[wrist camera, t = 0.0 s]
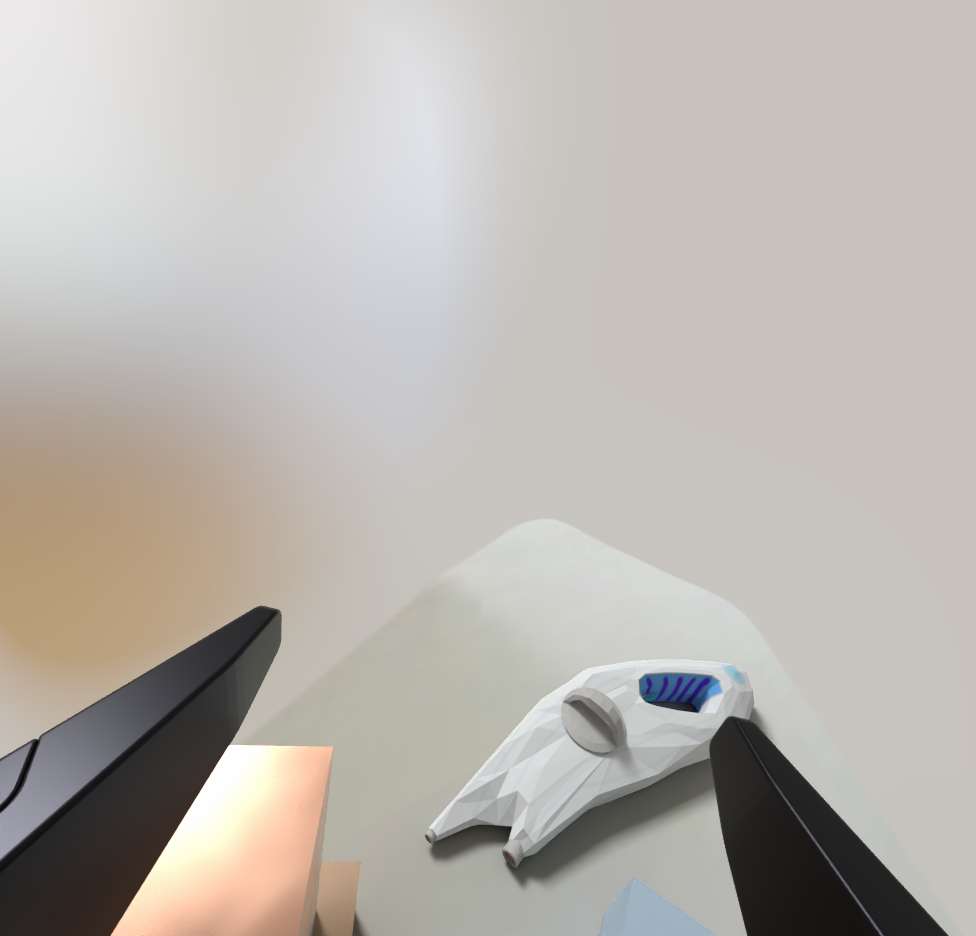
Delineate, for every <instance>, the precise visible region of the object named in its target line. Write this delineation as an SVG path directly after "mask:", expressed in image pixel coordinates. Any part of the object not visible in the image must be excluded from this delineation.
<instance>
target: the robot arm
mask: <svg viewBox="0 0 976 936" xmlns="http://www.w3.org/2000/svg"><path fill="white" fill-rule="evenodd" d="M281 620H282V615H281V612H280V610H278V609H274V608H269V607H266V606H258V607H256V608H254V609H252V610H251V611H249V612H247V613H246V614H244V615H242V616H241V617H239V618H237V619H235V620H234V621H232V622H230V623H229V624H227V625H225V626H224V627H222V628H220V629H219V630H217V631H215V632H214V633H212V634H210V635H208V636H207V637H205V638H203V639H202V640H200V641H198V642H197V643H195V644H193V645H192V646H190V647H188V648H187V649H185V650H183V651H182V652H180V653H178V654H176V655H175V656H173V657H171V658H170V659H168V660H166V661H165V662H163V663H161V664H160V665H158V666H156V667H155V668H153V669H151V670H149V671H148V672H146V673H144V674H143V675H141V676H139V677H138V678H136V679H134V680H133V681H131V682H129V683H128V684H126V685H124V686H122V687H121V688H119V689H117V690H116V691H114V692H112V693H111V694H109V695H107V696H106V697H104V698H102V699H101V700H99V701H97V702H96V703H94V704H92V705H91V706H89V707H87V708H85V709H84V710H82V711H81V712H79V713H77V714H75V715H74V716H72V717H70V718H69V719H67V720H65V721H64V722H62V723H60V724H58V725H57V726H55V727H54V728H52V729H50V730H48V731H47V732H45V733H43V734H42V735H41V736H40V737H39V739H33V740H31V741H30V742H28V743H26V744H25V745H23V746H21V747H19V748H18V749H16V750H14V751H13V752H11V753H9V754H8V755H6V756H4V757H3V758H1V759H0V936H111V934H112V933H113V931H114V930H115V928H116V926H117V925H118V923H119V922H120V920H121V918H122V917H123V915H124V914H125V912H126V910H127V909H128V907H129V906H130V904H131V902H132V901H133V899H134V897H135V896H136V894H137V893H138V891H139V889H140V888H141V886H142V885H143V883H144V881H145V880H146V878H147V877H148V875H149V873H150V872H151V870H152V869H153V867H154V865H155V864H156V862H157V861H158V859H159V857H160V856H161V854H162V853H163V851H164V849H165V848H166V846H167V845H168V843H169V841H170V840H171V838H172V837H173V835H174V833H175V832H176V830H177V828H178V827H179V825H180V824H181V822H182V820H183V819H184V817H185V816H186V814H187V812H188V811H189V809H190V808H191V806H192V804H193V803H194V801H195V800H196V798H197V796H198V795H199V793H200V792H201V790H202V788H203V787H204V785H205V784H206V782H207V780H208V779H209V777H210V776H211V774H212V772H213V771H214V769H215V768H216V766H217V764H218V763H219V761H220V759H221V758H222V756H223V755H224V753H225V751H226V750H227V748H228V747H229V745H230V743H231V742H232V740H233V738H234V737H235V735H236V733H237V732H238V730H239V728H240V726H241V724H242V722H243V720H244V718H245V716H246V714H247V712H248V710H249V708H250V706H251V704H252V702H253V700H254V698H255V696H256V694H257V692H258V690H259V688H260V686H261V684H262V682H263V680H264V678H265V676H266V674H267V672H268V670H269V668H270V666H271V664H272V662H273V660H274V657H275V656H276V654H277V652H278V649H279V647H280V643H281ZM709 754H710V761H711V767H712V773H713V779H714V786H715V792H716V798H717V804H718V811H719V817H720V823H721V829H722V834H723V839H724V844H725V848H726V853H727V857H728V861H729V865H730V869H731V873H732V877H733V881H734V885H735V889H736V893H737V897H738V901H739V905H740V909H741V913H742V917H743V921H744V925H745V929H746V933H747V936H948V935H947V933H946V932H945V931H944V930H943V929H942V928H941V927H940V926H939V925H938V924H937V923H936V921H935V920H934V919H933V918H932V917H931V916H930V915H929V914H928V913H927V912H926V910H925V909H924V908H923V907H922V906H921V905H920V904H919V903H918V902H917V901H916V900H915V898H914V897H913V896H912V895H911V894H910V893H909V892H908V891H907V890H906V889H905V888H904V886H903V885H902V884H901V883H900V882H899V881H898V880H897V879H896V878H895V877H894V875H893V874H892V873H891V872H890V871H889V870H888V869H887V868H886V867H885V866H884V865H883V863H882V862H881V861H880V860H879V859H878V858H877V857H876V856H875V855H874V854H873V852H872V851H871V850H870V849H869V848H868V847H867V846H866V845H865V844H864V843H863V842H862V840H861V839H860V838H859V837H858V836H857V835H856V834H855V833H854V832H853V831H852V830H851V828H850V827H849V826H848V825H847V824H846V823H845V822H844V821H843V820H842V819H841V817H840V816H839V815H838V814H837V813H836V812H835V811H834V810H833V809H832V808H831V807H830V805H829V804H828V803H827V802H826V801H825V800H824V799H823V798H822V797H821V796H820V794H819V793H818V792H817V791H816V790H815V789H814V788H813V787H812V786H811V785H810V784H809V782H808V781H807V780H806V779H805V778H804V777H803V776H802V775H801V774H800V773H799V772H798V770H797V769H796V768H795V767H794V766H793V765H792V764H791V763H790V762H789V761H788V759H787V758H786V757H785V756H784V755H783V754H782V753H781V752H780V751H779V750H778V749H777V747H776V746H775V745H774V744H773V743H772V742H771V741H770V740H769V739H768V738H767V736H766V735H765V734H764V733H763V732H762V731H761V730H760V729H759V728H758V727H757V726H756V725H755V724H754V723H753V722H752V721H750V720H748V719H744V718H740V717H736V716H729V717H727V718H726V719H725V720H724V722H723V723H722V724H721V726H720V727H719V729H718V730H717V731H716V733H715V734H714V736H713V737H712V739H711V741H710V745H709Z"/></svg>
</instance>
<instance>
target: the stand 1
mask: <svg viewBox="0 0 976 936" xmlns="http://www.w3.org/2000/svg"><path fill="white" fill-rule="evenodd" d="M359 870H360V862H335V863H321V870H320V880H319V889H318V899H317V909H316V915H315V921H314V927H313V933H312V936H352V933H353V924H354V915H355V906H356V897H357V888H358V879H359Z"/></svg>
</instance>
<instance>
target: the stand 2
mask: <svg viewBox="0 0 976 936" xmlns="http://www.w3.org/2000/svg"><path fill="white" fill-rule="evenodd" d="M600 936H716V935H715V934H714V933H712V932H711V931H709V930H708V929H707V928H705V927H704V926H702V925H701V924H700V923H698V922H697V921H695V920H694V919H693V918H691V917H690V916H688V915H687V914H686V913H684V912H683V911H681V910H680V909H679V908H677V907H676V906H674V905H673V904H672V903H670V902H669V901H667V900H666V899H665V898H663V897H662V896H660V895H659V894H658V893H656V892H655V891H653V890H652V889H651V888H649V887H648V886H646V885H645V884H644V883H642V882H641V881H639V880H638V879H637V878H635V877H634V876H633V878H632V879H631V880H630V882H629V883H628V884H627V886H626V887H625V888H624V890H623V891H622V892H621V894H620V895H619V896H618V898H617V899H616V900H615V901H614V903H613V904H612V905H611V907H610V908H609V909H608V911H607V912H606V913H605V915H604V918H603V923H602V927H601V932H600Z"/></svg>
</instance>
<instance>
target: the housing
mask: <svg viewBox="0 0 976 936" xmlns="http://www.w3.org/2000/svg"><path fill="white" fill-rule="evenodd" d="M332 754H333V747H306V746H237V745H229V747H228V748H227V750H226V751H225V753H224V755H223V756H222V758H221V759H220V761H219V763H218V764H217V766H216V768H215V769H214V771H213V772H212V774H211V776H210V777H209V779H208V780H207V782H206V784H205V785H204V787H203V788H202V790H201V792H200V793H199V795H198V796H197V798H196V800H195V801H194V803H193V804H192V806H191V808H190V809H189V811H188V812H187V814H186V816H185V817H184V819H183V820H182V822H181V824H180V825H179V827H178V828H177V830H176V832H175V833H174V835H173V837H172V838H171V840H170V841H169V843H168V845H167V846H166V848H165V849H164V851H163V853H162V854H161V856H160V857H159V859H158V861H157V862H156V864H155V865H154V867H153V869H152V870H151V872H150V873H149V875H148V877H147V878H146V880H145V881H144V883H143V885H142V886H141V888H140V889H139V891H138V893H137V894H136V896H135V897H134V899H133V901H132V902H131V904H130V906H129V907H128V909H127V910H126V912H125V914H124V915H123V917H122V918H121V920H120V922H119V923H118V925H117V926H116V928H115V930H114V931H113V933H112V934H111V936H312V933H313V927H314V921H315V915H316V909H317V899H318V889H319V880H320V870H321V860H322V851H323V840H324V831H325V822H326V812H327V802H328V792H329V783H330V773H331V763H332Z"/></svg>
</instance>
